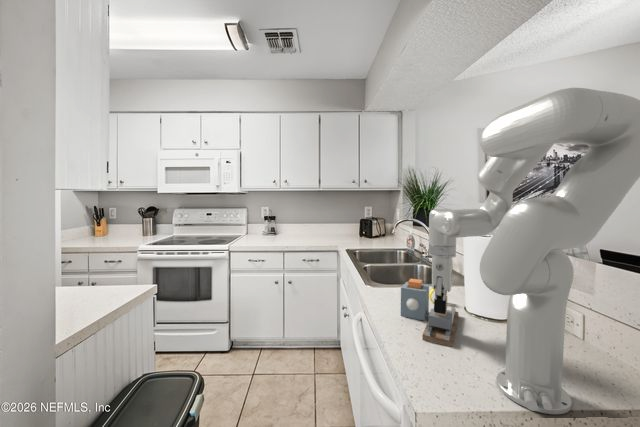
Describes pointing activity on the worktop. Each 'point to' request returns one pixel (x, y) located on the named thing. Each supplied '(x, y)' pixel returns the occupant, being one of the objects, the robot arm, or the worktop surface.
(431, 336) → the rail board
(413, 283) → the button
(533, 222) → the robot arm
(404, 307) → the end cabinet
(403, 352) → the worktop surface
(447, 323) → the carriage
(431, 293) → the watch
